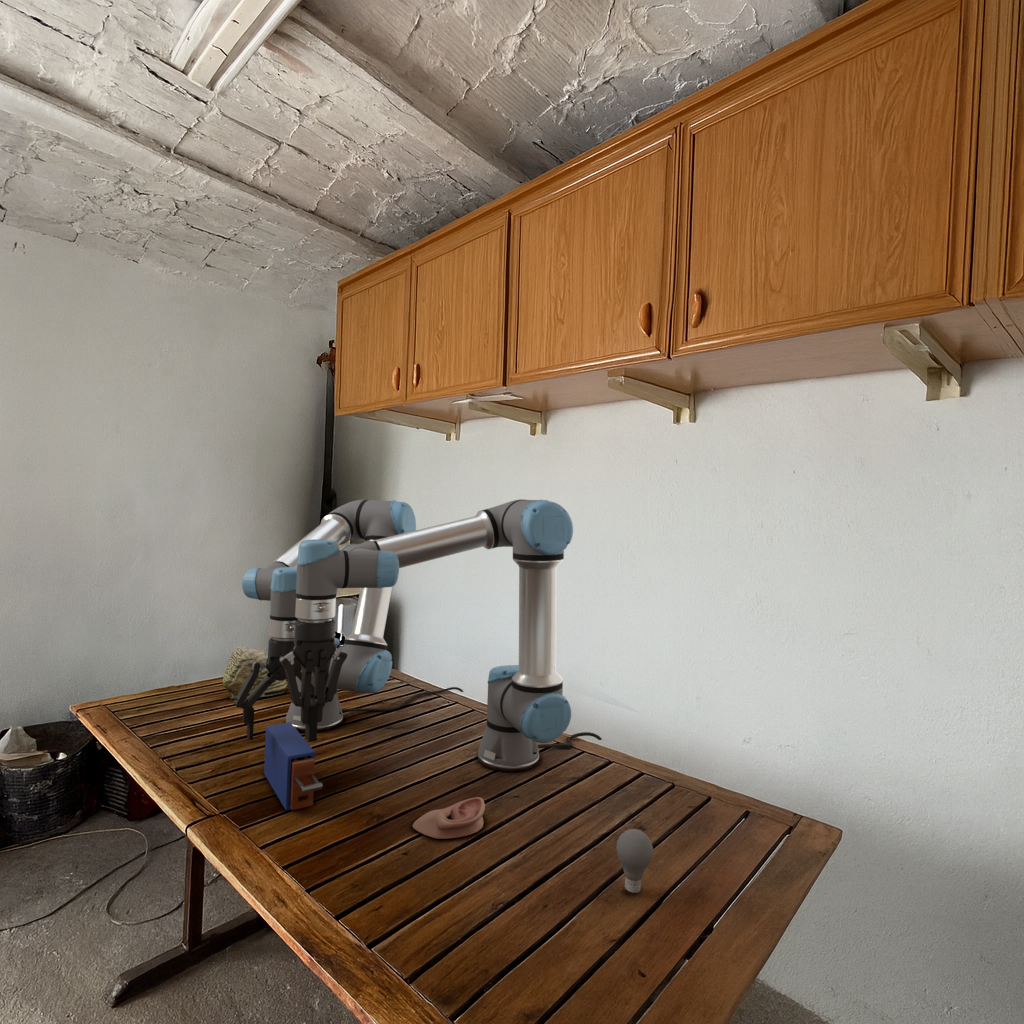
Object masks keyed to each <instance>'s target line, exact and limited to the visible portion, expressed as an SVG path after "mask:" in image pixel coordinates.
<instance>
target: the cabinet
mask: <svg viewBox="0 0 1024 1024" xmlns="http://www.w3.org/2000/svg"><path fill="white" fill-rule="evenodd" d="M264 741H265V743H264V771H263V775H264V776H265V778H266V779H267V781H268V783H269V784H270V787H271V788H272V789H273V791H274V793H275V795H276V796H277V798H278V799H279V801H280V803H281V805H282V806H283V808H284V810H285V811H289V810H291V808H290V806H291V801H290V779H291V759H295V758H300V757H306V756H308V759H311V758H313V759H314V760H315V754H316V752H315V749H313V747H312V746H311V745H310V744H309V742H308V741H307V740H306V738H305V737H303V735H301V733H300V731H297V730H296V728H295V727H294V726H293V725H292V724H291V722H288V723H286V722H282V723H276V724H270V725H266V726H265V740H264Z"/></svg>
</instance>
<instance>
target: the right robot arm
mask: <svg viewBox="0 0 1024 1024" xmlns="http://www.w3.org/2000/svg"><path fill="white" fill-rule="evenodd" d="M572 520H573V519H572V518H571V516H570V513H569V512H568V511H567V510H566V509H565V508H564V507H563V506H562V505H561V504H559V503H557V502H555V501H551V500H548V499H521V498H520V499H514V500H510V501H508V502H505V503H502V504H499V505H495V506H492V507H489V508H485V509H481V510H478V511H477V512H476V514H475V515H474V516H470V517H467V518H462V519H457V520H454V521H449V522H445V523H440V524H437V525H432V526H428V527H424V528H420V529H416V530H415V531H411V532H407V533H403V534H399V535H395V536H390V537H386V538H382V539H378V540H375V541H370V542H366V543H364V542H361V543H348V544H346V545H343V546H342V547H341V548H339V545H338V543H337V542H336V541H333V540H304V541H302V542H301V543H300V545H299V550H298V561H297V584H296V593H297V594H296V609H295V617H296V618H297V619H298V620H297V621H296V622H295V636H294V645H293V646H292V649H291V652H290V653H288V654H287V655H286V656H281V657H280V658H279V661H280V663H281V664H282V665H283V667H284V669H285V674H286V678H287V679H286V684H287V687H288V693H289V696H290V700H291V702H292V703H293V704H294V705H295V706H297V707H298V706H299V707H301V722H302V723H303V724H304V725H305V724H306V726H305V732H304V739H305V740H306V741H307V743H312V742H317V741H318V740H317V739H318V732H317V722H321V721H322V714H323V707H324V706H325V703H327V702H331V701H332V700H333V697H334V693H335V689H336V686H337V682H338V678H339V675H340V671H341V667H342V664H343V663H344V661H345V660H346V658H347V654H346V653H345V652H344V651H342V650H339V649H337V646H336V644H335V641H334V639H335V638H336V620H335V619H334V618H336V611H337V610H336V609H337V595H336V591H337V588H338V589H361V588H378V589H380V588H383V587H392V588H393V587H395V586H396V584H397V583H398V580H399V574H400V569H402V568H406V567H409V566H410V567H411V566H414V565H417V564H421V563H425V562H430V561H434V560H437V559H441V558H444V557H450V556H453V555H456V554H461V553H464V552H468V551H472V550H476V549H480V548H485V550H492V549H495V548H496V549H497V548H506V547H507V548H512V561H513V562H514V563H515V564H516V565H517V566H518V664H507V665H499V666H495V667H494V666H493V667H492V668H491V669H490V670H489V672H488V678H487V679H488V680H487V699H486V700H487V705H486V727H485V730H484V732H483V735H482V738H481V740H480V743H479V747H478V750H477V760H478V762H479V763H480V764H482V765H483V766H485V767H487V768H489V769H493V770H496V771H502V772H521V771H527V770H529V769H532V768H534V767H535V766H537V765H538V764H539V762H540V749H548V748H549V749H550V748H551V749H552V748H571V747H572V746H573V741H572V739H575V738H579V737H587V736H588V737H593V738H595V739H596V740H598V741H603V738H602V737H601V736H600V735H599V734H596V733H595V732H589V731H584V732H583V731H582V732H578V733H573V734H571V735H569V736H571V737H568V736H566V737H565V741H566V742H567V743H551V742H554V741H556V740H557V739H559V738H560V737H561V736H562V734H563V733H564V732H566V730H567V729H568V727H569V726H570V722H571V721H572V707H571V704H570V702H569V700H568V699H567V698H566V697H565V695H564V694H563V691H564V690H563V689H564V688H563V687H564V679H563V677H562V675H560V674H559V673H558V671H557V619H558V617H557V616H558V613H557V612H558V611H557V610H558V609H557V607H558V606H557V605H558V603H557V601H558V567H559V566H560V565H561V563H563V561H564V560H565V550H566V549H567V548H568V545H569V544H571V542H572V541H573V535H574V524H573V521H572ZM332 655H333V662H332V665H331V669H330V672H329V676H328V680H327V683H326V687H325V691H324V683H325V671H326V663H327V662H328V661H329V659H330V658H331V657H332ZM294 657H295V658H296V659H297V660H298V662H299V663H300V664H301V669H302V682H301V699H300V695H299V691H298V686H297V681H296V677H295V672H294V669H293V666H292V665H293V664H294ZM313 667H315V687H314V702H315V704H310V702H311V678H312V672H313Z"/></svg>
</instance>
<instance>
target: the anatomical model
mask: <svg viewBox="0 0 1024 1024" xmlns="http://www.w3.org/2000/svg"><path fill="white" fill-rule="evenodd" d="M485 809H486V806H485V801H484V798H482V797H480V796H479V797H478V796H476V797H470V798H467V799H463V800H461V801H458V802H456V803H454V804H451V805H449V806H447V807H444V808H440V809H434V810H430V811H428V812H426V813H424V814H422V815H421V816H420V817H419V818H417V819H416V820H415V821H414V822H413V824H412V828H413V830H415V831H417V832H419V833H421V834H422V835H424V836H427V837H429V838H432V839H437V840H440V839H441V840H445V839H455V838H461V837H466V836H470V835H472V834H475V833H477V832H479V831H480V830H482V828H483V827H484V818H483V817H484V816H483V815H484V813H485Z"/></svg>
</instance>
